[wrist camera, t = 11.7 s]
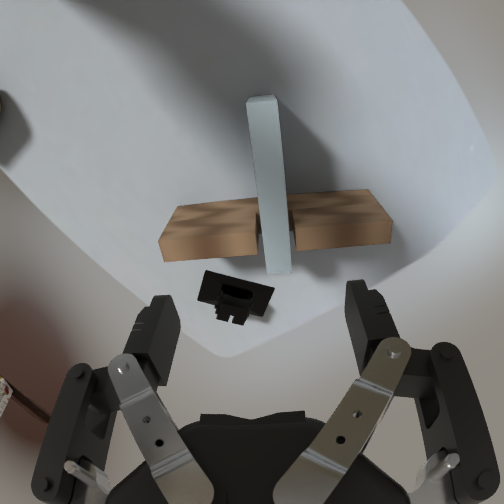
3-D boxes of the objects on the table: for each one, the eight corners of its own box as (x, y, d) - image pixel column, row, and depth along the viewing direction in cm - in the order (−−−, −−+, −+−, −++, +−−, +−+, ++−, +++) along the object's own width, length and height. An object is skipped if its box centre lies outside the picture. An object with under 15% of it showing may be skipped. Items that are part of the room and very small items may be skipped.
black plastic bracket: (186, 298, 44) (180, 321, 40) (196, 257, 40) (189, 279, 36) (270, 320, 45) (270, 343, 42) (287, 282, 42) (290, 305, 38)
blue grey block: (249, 97, 29) (245, 103, 22) (273, 94, 29) (277, 100, 22) (266, 234, 37) (266, 274, 31) (286, 232, 37) (291, 272, 30)
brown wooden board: (182, 224, 37) (164, 262, 30) (177, 206, 36) (157, 240, 29) (367, 208, 35) (390, 243, 28) (368, 189, 34) (392, 220, 27)
